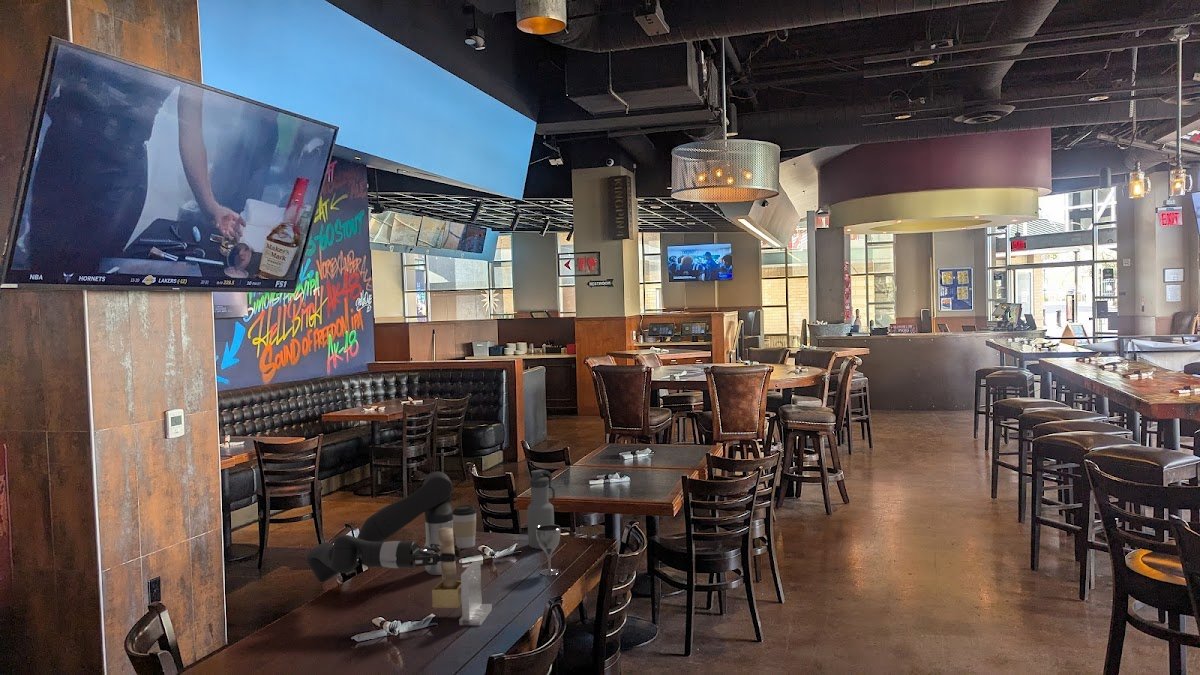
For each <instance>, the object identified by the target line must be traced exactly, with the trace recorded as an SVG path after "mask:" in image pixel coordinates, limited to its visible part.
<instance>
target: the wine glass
mask: <svg viewBox="0 0 1200 675" xmlns="http://www.w3.org/2000/svg"><path fill="white" fill-rule="evenodd" d="M536 536H537V541H538V544H539V546H540V547H541V548H542V549H541V550H543V552H544V553H545V555H546V556H547V563H548V565H547V568H546V569H542V570H540V571H541V572H540V571H539V572H540V573H541V574H542V575H545V576H544V577H553V576H552V575H555V576H558V575H559V574H558V573H559V571H558V570H559V569H557V570H556V568H552V565H551V562H552V555H553V553H554V551H555V550H556V549H557V547H558V545H559V544H560V540H561V525H558V524H554V525H553V524H547V525H541V526H538V527H537V528H536ZM557 574H558V575H557ZM542 575H541V576H542ZM547 575H548V576H547Z"/></svg>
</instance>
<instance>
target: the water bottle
mask: <svg viewBox="0 0 1200 675" xmlns="http://www.w3.org/2000/svg"><path fill="white" fill-rule="evenodd" d="M530 475H531V478H530V479H529V487H530V503H529V505H528V506H527V508H526V509H527V511H526V512H527V513H526V514H527V515H526V516H527V517H526V518H527V535H528V536H527V537H528V539H527V540H528V542H527V543H528V546H529V547H530V548H532V549H534V548H535V549H536V550H543V549H542V548H541V547H540V546H539V544H538V541H537V536H536V528H537V527H538V526H541V525H547V524H553V525H555V512H554V511H555V509H554V508H555V507H554V505H553V504H552V503H551V502H550V501H554V500H555V499H556V495H555V494H556V492H555V491H556V490H555V487H554V486H552V482H553V475H552V473H551V472H550V471H549V470H547V469H536V470H535V469H534V470H531V471H530ZM549 489H551V491H552V497H550V495H549V494H550V493H549ZM535 549H534V550H535Z"/></svg>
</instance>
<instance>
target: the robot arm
mask: <svg viewBox="0 0 1200 675" xmlns="http://www.w3.org/2000/svg"><path fill="white" fill-rule="evenodd" d="M453 487H454V486H453V482H452V480H451V479H450V477H449V476H448V475H447V474H446V473H444V472H442V471H433V472H431V473H429V474H428V475H426V477H425V478H424V481H423V484H422V486H420V487H419V488H418V489H417V490H416V491H414V492H413V493H411V494H409V495H408V496H407V497H405V498H402V499H400V500H397V501H395V502H392V503H390V504H388V505H386V506H384V507H383V508H380V509H379V510H377V511H376V512H375V513H374V514H372V515H370V516H369V517H367V519H366V520H365V521H364V523H363V524H362V526H361V528H360V530H359V532H358V534H357V537H356V536H353V535H350V534H342V535H339V536H337V537H336V538H335V539H334V542H333V543H331V542H328V541H325V542H323V543H320V544H317V546H315V547H313V548H312V549H311V550H310V551H309V552H308V553H307V554H306V556H305V560H306V563H307V565H308V567H309V568H310V570H311V571H312V573H313V574H314V576H315V577H316V578H317V580H318V581H319V582H320V583H324V582H326V581H329V580H331V579H332V578H333V577H335V576H337V575H338V574H347V573H351V572H353V571H354V570H355V569H356V567H357V564H358V559H359V558H360V557H361V560H362V564H363V565H364V566H365V567H368V568H387V569H415V568H416V567H424V568H425V571H426V572H427V574H429V575H435V576H438V575H439V576H440V575H441V576H442V569H441V562H454V561H455V562H456V558H460V556H461V548H454V551H455V554H454V553H442V555H441V553H440V545H439V533H438V530H439V529H441V528H446V527H451V528H453V529H454V523H453V520H454V519H453V505H452V504H453V502H452V493H453ZM423 513H424V523H425V524H424V526H425V527H424V528H425V543H424V546H422V547H420V546H419V543H418V542H417V541H416V540H389V541H386V540H388V539H390V537H392V536H393V535H395V534H396V533H398V532H399V531H400V530H402V529H403V528H405V527H406V526H407V525H409V524H410V523H411V522H412V521H414V520H415V519H416V518H418V517H419V516H420V515H422V514H423ZM454 538H455V531H454V530H453V539H454ZM454 540H455V539H454Z"/></svg>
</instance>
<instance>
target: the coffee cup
mask: <svg viewBox="0 0 1200 675" xmlns="http://www.w3.org/2000/svg"><path fill="white" fill-rule="evenodd" d="M452 511H453V531H454V537H455V543H456V548H457V549H469V548H472V547H475V545H476V533H477V532H476V531H477V512H478V511H477V508H475V507H474V505H471V504H462V505H458V506H456V507H454V509H452Z"/></svg>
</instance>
